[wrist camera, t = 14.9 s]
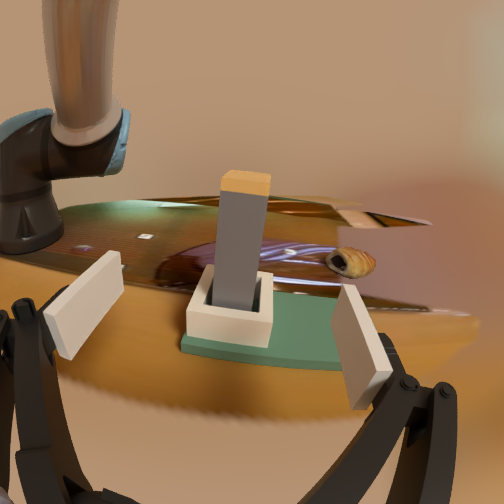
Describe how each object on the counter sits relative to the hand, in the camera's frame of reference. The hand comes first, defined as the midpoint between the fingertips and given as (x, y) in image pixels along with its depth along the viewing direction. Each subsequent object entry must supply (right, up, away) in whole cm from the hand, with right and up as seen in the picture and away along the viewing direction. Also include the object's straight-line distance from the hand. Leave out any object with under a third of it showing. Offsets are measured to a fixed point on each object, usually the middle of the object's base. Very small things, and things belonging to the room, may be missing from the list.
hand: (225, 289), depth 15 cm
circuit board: (+5, -6, +13) cm, 15 cm away
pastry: (+18, -1, +29) cm, 34 cm away
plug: (-1, -4, +12) cm, 13 cm away
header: (0, -4, +13) cm, 13 cm away
